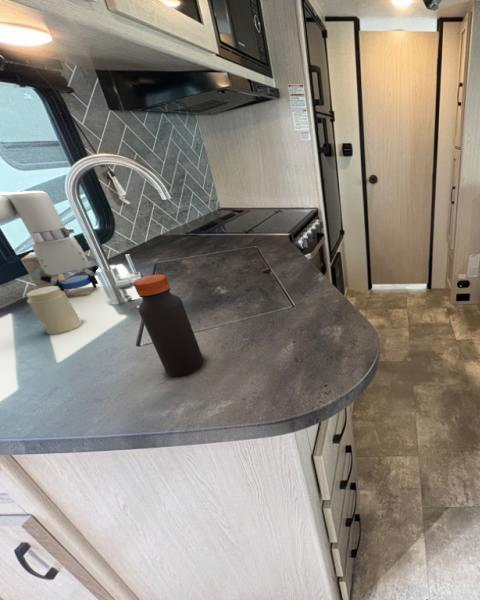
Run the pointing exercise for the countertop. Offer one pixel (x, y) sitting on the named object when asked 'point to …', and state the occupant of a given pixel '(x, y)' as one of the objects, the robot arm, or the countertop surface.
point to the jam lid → (75, 282)
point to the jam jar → (53, 309)
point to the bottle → (168, 326)
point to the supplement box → (31, 263)
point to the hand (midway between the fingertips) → (79, 289)
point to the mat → (80, 292)
